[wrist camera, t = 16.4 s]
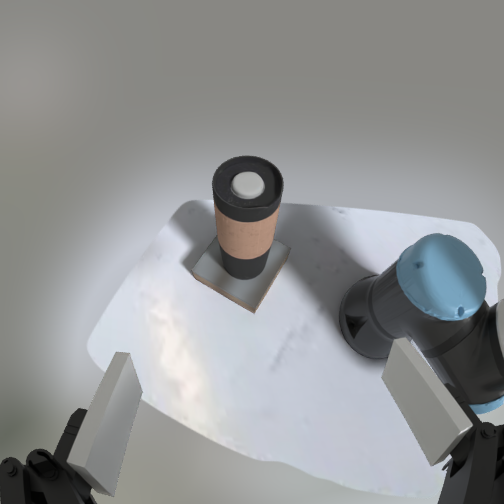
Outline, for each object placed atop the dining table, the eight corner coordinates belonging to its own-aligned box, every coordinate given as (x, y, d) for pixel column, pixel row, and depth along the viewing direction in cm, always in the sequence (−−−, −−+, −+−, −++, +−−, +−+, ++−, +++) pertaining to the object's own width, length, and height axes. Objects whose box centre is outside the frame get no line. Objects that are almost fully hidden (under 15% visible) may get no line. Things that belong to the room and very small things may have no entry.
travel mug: (221, 239, 48) (213, 154, 30) (266, 239, 48) (281, 155, 30) (220, 282, 45) (208, 210, 27) (268, 282, 45) (288, 210, 27)
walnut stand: (287, 258, 52) (290, 248, 48) (254, 313, 47) (255, 307, 43) (231, 228, 54) (230, 216, 50) (195, 278, 49) (191, 269, 45)
